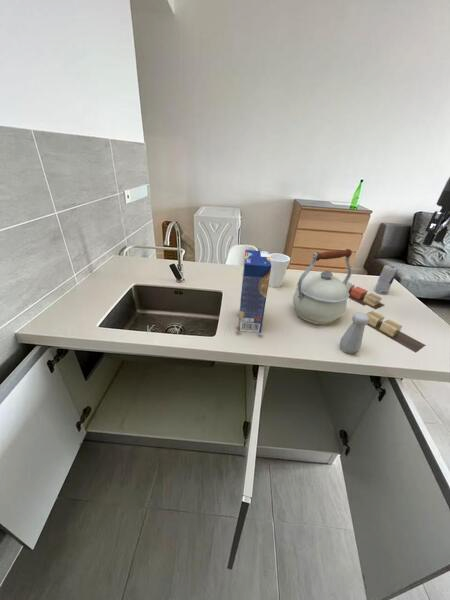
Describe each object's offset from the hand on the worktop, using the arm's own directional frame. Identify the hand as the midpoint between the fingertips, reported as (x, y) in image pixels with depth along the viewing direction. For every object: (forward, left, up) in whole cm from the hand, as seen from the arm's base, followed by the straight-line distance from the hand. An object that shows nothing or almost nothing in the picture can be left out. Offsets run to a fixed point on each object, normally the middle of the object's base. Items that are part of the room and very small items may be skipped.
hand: (432, 243), depth 80 cm
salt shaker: (+36, +3, -28) cm, 46 cm away
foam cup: (+27, -41, -28) cm, 57 cm away
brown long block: (+3, -15, -28) cm, 32 cm away
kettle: (+28, -15, -28) cm, 43 cm away
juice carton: (+54, -24, -28) cm, 66 cm away
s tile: (+3, -15, -27) cm, 31 cm away
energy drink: (-12, -13, -28) cm, 33 cm away
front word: (+16, +5, -28) cm, 33 cm away
